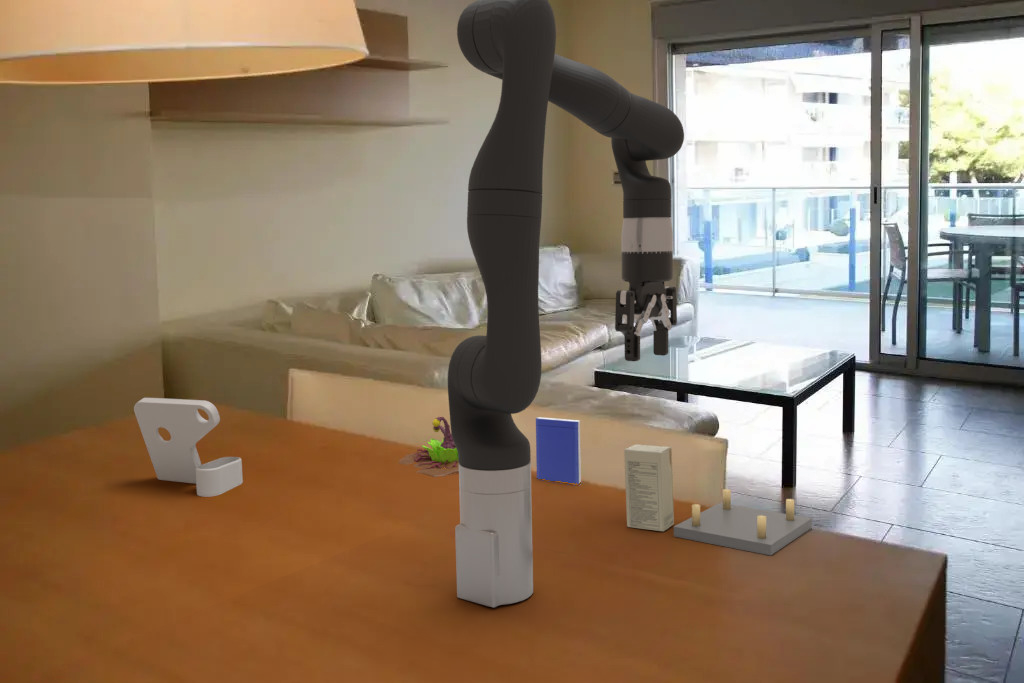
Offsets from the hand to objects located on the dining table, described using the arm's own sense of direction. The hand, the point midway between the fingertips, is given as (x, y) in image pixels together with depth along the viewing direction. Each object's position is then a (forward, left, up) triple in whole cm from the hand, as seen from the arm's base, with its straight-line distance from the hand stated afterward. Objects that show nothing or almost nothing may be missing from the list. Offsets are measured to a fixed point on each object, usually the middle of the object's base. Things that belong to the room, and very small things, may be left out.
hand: (647, 357), depth 145 cm
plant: (+9, +49, -26) cm, 56 cm away
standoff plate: (+5, -13, -26) cm, 29 cm away
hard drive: (+10, +24, -26) cm, 37 cm away
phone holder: (-29, +75, -26) cm, 85 cm away
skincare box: (0, 0, -26) cm, 26 cm away
